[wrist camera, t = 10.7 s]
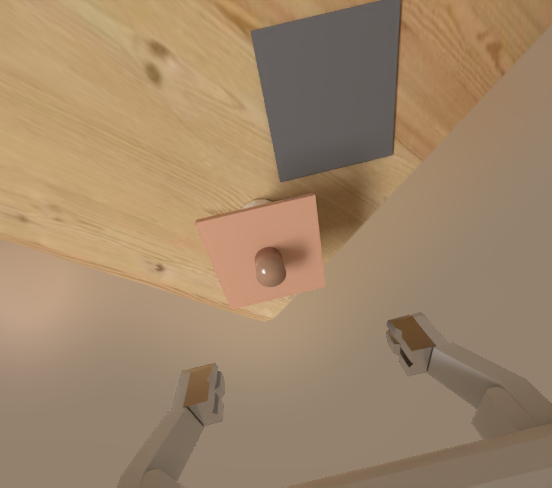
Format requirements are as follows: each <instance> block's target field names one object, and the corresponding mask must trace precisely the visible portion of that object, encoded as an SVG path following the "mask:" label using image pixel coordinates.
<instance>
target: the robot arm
mask: <svg viewBox="0 0 552 488" xmlns="http://www.w3.org/2000/svg"><path fill="white" fill-rule="evenodd" d="M387 327H388V328H389V329H388V331H387V332H386V337H387V341H388V344H389V346H390V348H391V349H392V351H393V353H395V354H397V355H398V356H399V362H400V364H401V366H402V367H403V369H404V371H405V372H406V374H407V376H411V375H416V374H421V373H426V372H428V374H429V375H431V376H432V377H433V378H435V379H436V380H437V381H439V382H440V383H442V384H443V385H444V386H446V387H447V388H449V389H450V390H451V391H453V392H454V393H456V394H457V395H458V396H460V397H461V398H463V399H464V400H465V401H467V402H468V403H469V404H471V405H472V406H473V407H475V408H476V409H477V410H476V412H475V414H474V416H473V418H472V422H471V423H472V424H473V426H474V427H475V429H476V430H477V431H478V433H479V434H480V436H481V437H482V438H483V440H479V441H475V442H470V443H466V444H462V445H458V446H454V447H450V448H446V449H441V450H437V451H433V452H429V453H425V454H421V455H417V456H412V457H408V458H404V459H400V460H396V461H391V462H387V463H383V464H379V465H375V466H371V467H367V468H362V469H358V470H354V471H350V472H346V473H342V474H337V475H333V476H329V477H325V478H321V479H317V480H312V481H308V482H304V483H300V484H296V485H292V486H288V487H283V488H552V403H551V402H550V401H549V400H548V399H547V398H545V397H544V396H543V395H542V394H541V393H540V392H539V391H538V390H537V389H536V388H535V387H534V386H533V385H532V384H531V383H530V382H529V381H528V380H527V379H525V378H523V377H521V376H519V375H517V374H515V373H513V372H511V371H509V370H507V369H505V368H503V367H501V366H499V365H497V364H495V363H493V362H491V361H489V360H487V359H485V358H483V357H481V356H479V355H477V354H475V353H473V352H471V351H469V350H467V349H465V348H463V347H461V346H459V345H457V344H455V343H453V342H452V343H449V342H448V341H447V340H446V339H445V338H444V336H443V335H442V334H441V333H440V332H439V331H438V330H437V329H436V328H435V326H434V325H433V324H432V323H431V322H430V321H429V320H428V318H427V317H426V316H425V315H424V314H423V313H415V314H412V315H407V316H403V317H399V318H395V319H391V320H388V321H387ZM217 368H218V367H217V365H216V363H213V364H209V365H204V366H200V367H196V368H191V369H187V370H183V371H182V372H181V374H180V375H179V380H178V384H177V388H176V392H175V396H174V400H173V404H172V408H171V411H169V412H167V413H166V415H165V416H164V417H163V419H162V420H161V421H160V423H159V424H158V426H157V427H156V428H155V430H154V431H153V432H152V434H151V435H150V437H149V438H148V439H147V441H146V442H145V444H144V445H143V446H142V448H141V449H140V450H139V452H138V453H137V454H136V456H135V457H134V459H133V460H132V461H131V463H130V464H129V466H128V467H127V468H126V470H125V471H124V473H123V474H122V475H121V477H120V480H119V483H118V486H117V488H185V487H184V486H183V485H181V484H180V483H179V482H177V481H178V479H179V477H180V475H181V473H182V471H183V469H184V467H185V465H186V463H187V461H188V459H189V457H190V455H191V453H192V451H193V449H194V447H195V445H196V443H197V441H198V439H199V437H200V435H201V433H202V431H203V429H204V427H203V426H207V425H210V424H214V423H218V422H222V420H223V408H224V404H223V402H222V401H221V399H222V397H223V395H224V393H225V383H224V378H223V375H222V373H221V372H219V371H217V370H218V369H217Z"/></svg>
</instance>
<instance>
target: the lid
mask: <svg viewBox="0 0 552 488" xmlns="http://www.w3.org/2000/svg"><path fill="white" fill-rule="evenodd" d="M195 224H196V226H197V229H198V231H199V234H200V236H201V238H202V241H203V243H204V246H205V248H206V250H207V253H208V255H209V258H210V260H211V262H212V265H213V267H214V270H215V272H216V274H217V277H218V279H219V282H220V284H221V286H222V289H223V291H224V294H225V296H226V298H227V301H228V303H229V306H230V308H231V309H235V308H239V307H244V306H248V305H252V304H256V303H260V302H264V301H268V300H273V299H277V298H281V297H285V296H289V295H293V294H297V293H301V292H305V291H310V290H314V289H318V288H322V287H325V277H324V268H323V259H322V250H321V241H320V232H319V223H318V214H317V205H316V196H315V194H314V193H309V194H304V195H300V196H296V197H292V198H287V199H283V200H279V201H275V202H270V203H266V204H262V205H258V206H253V207H249V208H245V209H241V210H236V211H232V212H228V213H224V214H219V215H215V216H211V217H207V218H202V219H198V220H196V222H195Z"/></svg>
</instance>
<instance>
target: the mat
mask: <svg viewBox="0 0 552 488" xmlns="http://www.w3.org/2000/svg"><path fill="white" fill-rule="evenodd" d="M399 19H400V0H381V1H377V2H372V3H368V4H364V5H360V6H356V7H351V8H347V9H343V10H339V11H334V12H330V13H326V14H322V15H317V16H313V17H309V18H305V19H300V20H296V21H292V22H288V23H283V24H279V25H275V26H271V27H266V28H262V29H258V30H254V31H251V35H252V41H253V46H254V51H255V56H256V61H257V66H258V71H259V76H260V81H261V86H262V91H263V97H264V102H265V107H266V112H267V117H268V122H269V127H270V132H271V137H272V142H273V147H274V153H275V158H276V163H277V168H278V173H279V178H280V182H284V181H288V180H292V179H296V178H300V177H304V176H308V175H312V174H317V173H321V172H325V171H329V170H333V169H337V168H341V167H345V166H349V165H354V164H358V163H362V162H366V161H370V160H374V159H378V158H382V157H386V156H391V155H392V152H393V133H394V114H395V95H396V76H397V57H398V38H399Z"/></svg>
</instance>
